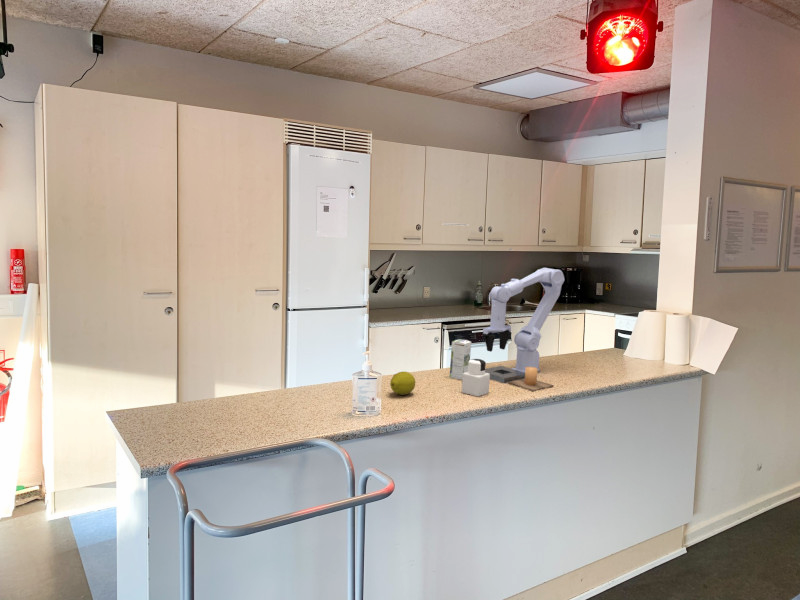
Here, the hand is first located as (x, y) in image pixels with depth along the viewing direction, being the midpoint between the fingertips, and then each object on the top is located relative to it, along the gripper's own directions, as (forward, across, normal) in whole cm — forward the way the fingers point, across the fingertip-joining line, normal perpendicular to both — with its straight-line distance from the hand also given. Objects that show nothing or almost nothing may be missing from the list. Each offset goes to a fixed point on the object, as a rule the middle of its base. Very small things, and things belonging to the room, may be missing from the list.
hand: (495, 350), depth 245 cm
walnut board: (+9, -2, -20) cm, 22 cm away
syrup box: (+10, -18, +2) cm, 20 cm away
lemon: (+10, -52, -4) cm, 53 cm away
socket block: (+9, -2, -6) cm, 11 cm away
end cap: (+9, -2, -20) cm, 22 cm away
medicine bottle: (+10, -28, -16) cm, 34 cm away
